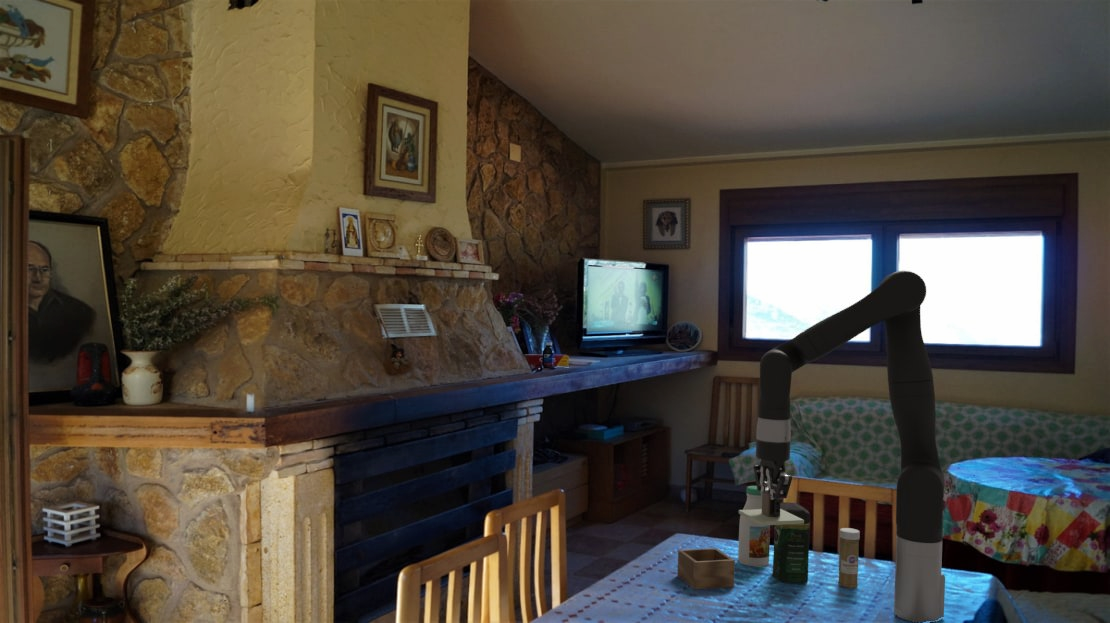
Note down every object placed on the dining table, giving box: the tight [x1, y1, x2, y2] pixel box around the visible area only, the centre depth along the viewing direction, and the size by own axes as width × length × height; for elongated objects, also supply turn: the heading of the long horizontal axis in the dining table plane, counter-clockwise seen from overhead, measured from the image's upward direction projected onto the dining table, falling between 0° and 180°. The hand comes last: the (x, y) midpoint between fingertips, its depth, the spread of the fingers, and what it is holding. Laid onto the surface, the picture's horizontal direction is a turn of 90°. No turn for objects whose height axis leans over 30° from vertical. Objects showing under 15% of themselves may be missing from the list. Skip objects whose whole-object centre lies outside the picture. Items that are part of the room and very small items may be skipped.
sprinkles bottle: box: [837, 527, 861, 589], centre depth 207 cm, size 5×5×13 cm
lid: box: [738, 491, 804, 526], centre depth 196 cm, size 11×11×6 cm
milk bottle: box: [737, 485, 771, 567], centre depth 221 cm, size 8×8×20 cm
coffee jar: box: [772, 501, 811, 585], centre depth 210 cm, size 10×8×19 cm
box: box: [677, 547, 736, 590], centre depth 205 cm, size 10×10×7 cm
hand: (770, 513), depth 196 cm, fingers closed on lid, 3 cm apart
